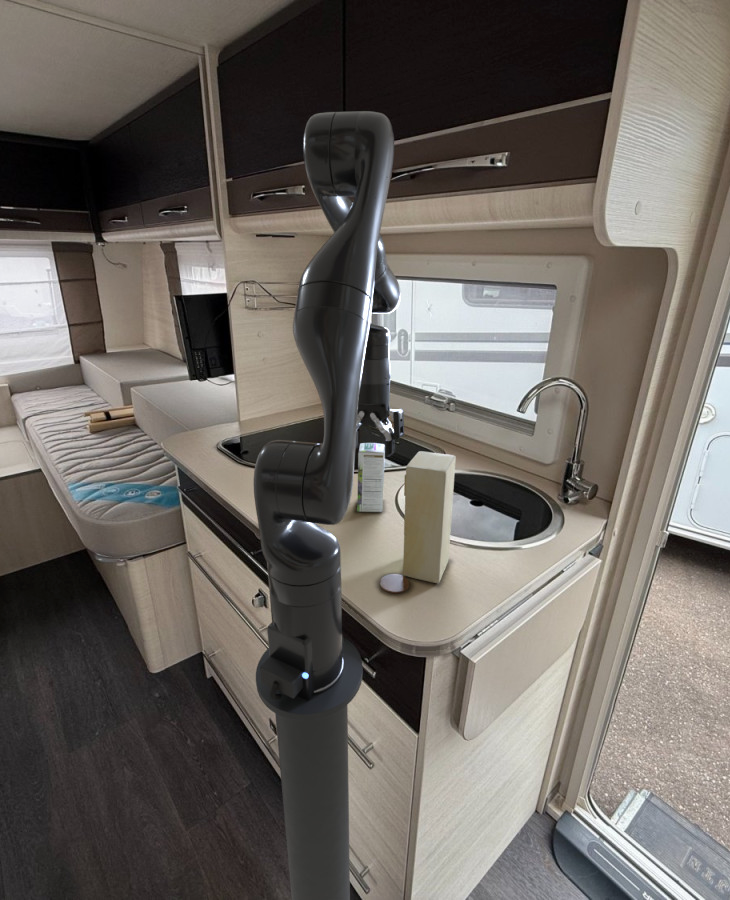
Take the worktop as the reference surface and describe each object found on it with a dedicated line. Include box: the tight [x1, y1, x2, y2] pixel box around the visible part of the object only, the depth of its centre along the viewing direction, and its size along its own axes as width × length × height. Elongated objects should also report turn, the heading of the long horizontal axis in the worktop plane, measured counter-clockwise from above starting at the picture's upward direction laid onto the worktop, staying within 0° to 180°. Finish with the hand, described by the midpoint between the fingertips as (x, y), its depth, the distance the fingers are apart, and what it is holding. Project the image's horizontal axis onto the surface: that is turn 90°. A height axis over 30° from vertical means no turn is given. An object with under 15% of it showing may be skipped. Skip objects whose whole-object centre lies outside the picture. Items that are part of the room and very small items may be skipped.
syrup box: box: [356, 442, 386, 513], centre depth 104 cm, size 6×6×14 cm
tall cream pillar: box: [402, 450, 457, 584], centre depth 81 cm, size 8×7×21 cm
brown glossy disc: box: [379, 573, 410, 595], centre depth 80 cm, size 5×5×1 cm
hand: (371, 451), depth 102 cm, fingers open, 8 cm apart
